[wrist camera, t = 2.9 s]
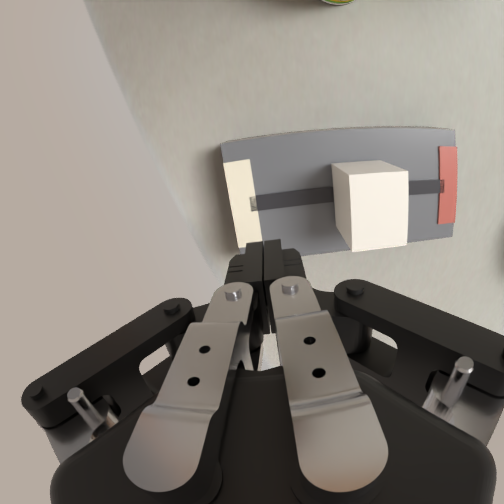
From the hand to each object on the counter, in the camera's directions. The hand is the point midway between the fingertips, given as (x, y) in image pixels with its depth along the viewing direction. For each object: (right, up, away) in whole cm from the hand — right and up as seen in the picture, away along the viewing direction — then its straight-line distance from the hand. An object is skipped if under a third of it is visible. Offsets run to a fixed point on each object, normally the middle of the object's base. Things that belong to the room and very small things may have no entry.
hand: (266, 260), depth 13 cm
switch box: (+8, +7, +12) cm, 16 cm away
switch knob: (+8, +5, +8) cm, 12 cm away
